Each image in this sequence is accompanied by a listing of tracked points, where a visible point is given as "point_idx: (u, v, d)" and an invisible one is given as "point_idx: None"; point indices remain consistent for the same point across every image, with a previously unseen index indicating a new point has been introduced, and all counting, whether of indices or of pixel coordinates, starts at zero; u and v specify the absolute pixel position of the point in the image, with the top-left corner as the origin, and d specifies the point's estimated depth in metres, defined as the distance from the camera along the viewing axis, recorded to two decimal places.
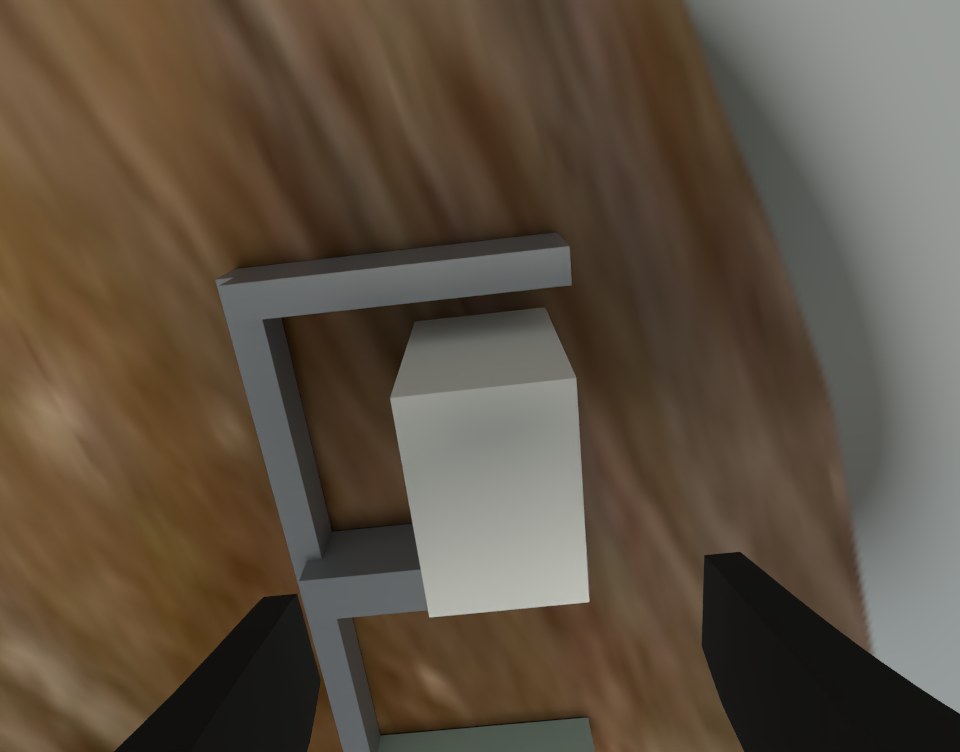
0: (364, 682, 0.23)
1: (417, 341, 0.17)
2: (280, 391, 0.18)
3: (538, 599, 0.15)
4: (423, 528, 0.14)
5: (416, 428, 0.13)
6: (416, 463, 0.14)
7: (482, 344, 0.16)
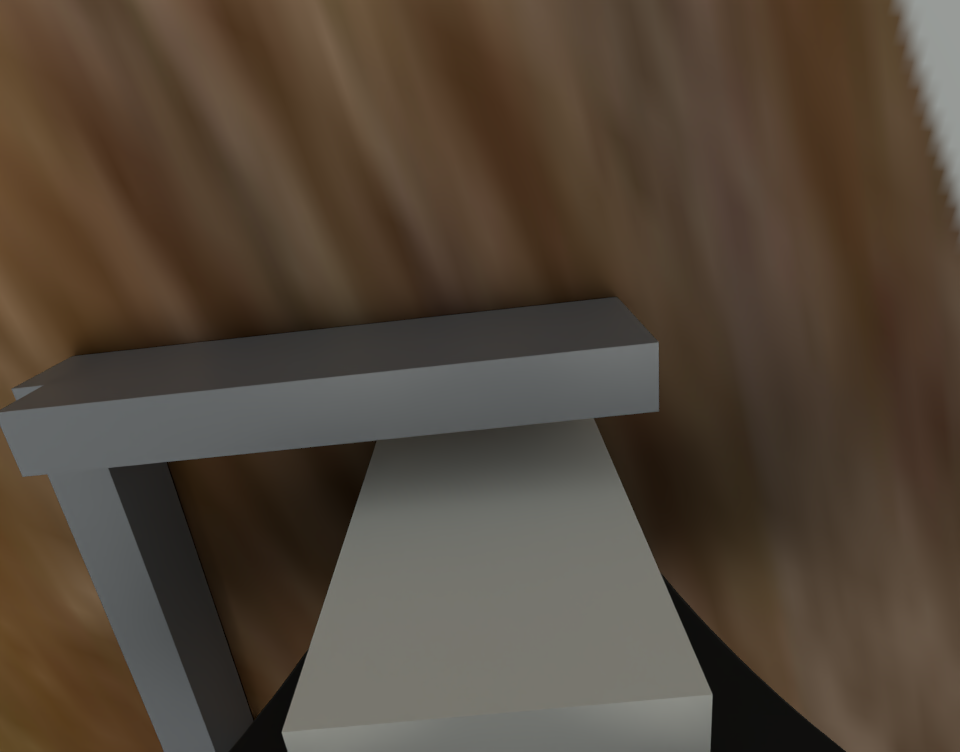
0: None
1: (373, 500, 0.09)
2: (145, 565, 0.10)
3: None
4: None
5: None
6: None
7: (490, 521, 0.08)
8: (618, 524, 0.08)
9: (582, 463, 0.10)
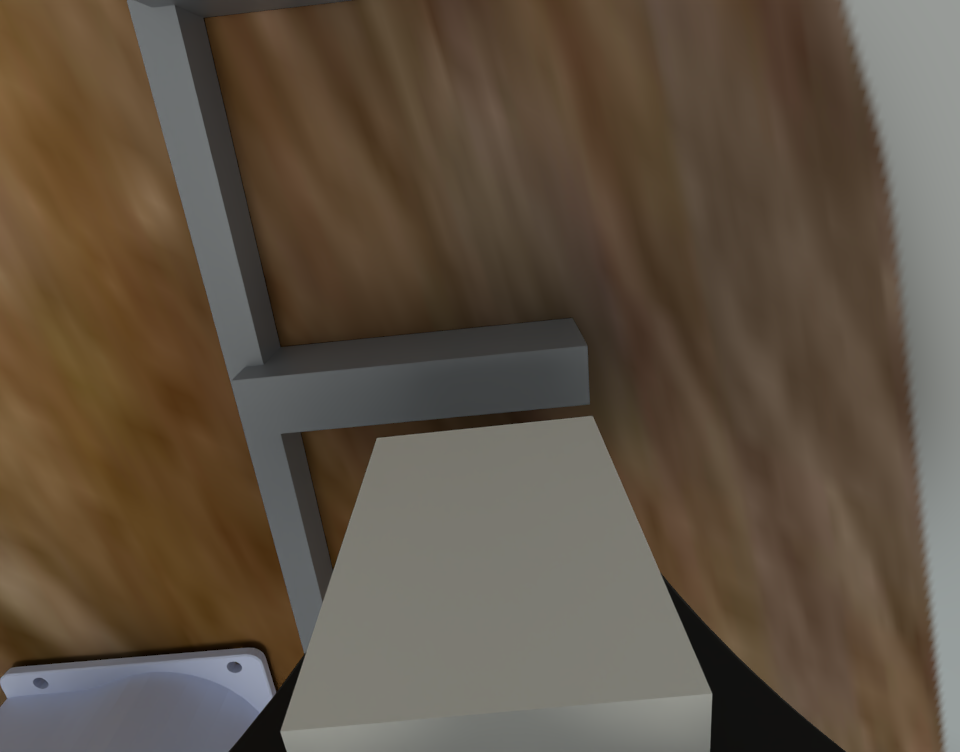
0: (322, 544, 0.20)
1: (373, 500, 0.09)
2: (204, 125, 0.14)
3: None
4: None
5: None
6: None
7: (490, 520, 0.08)
8: (618, 523, 0.08)
9: (582, 462, 0.10)
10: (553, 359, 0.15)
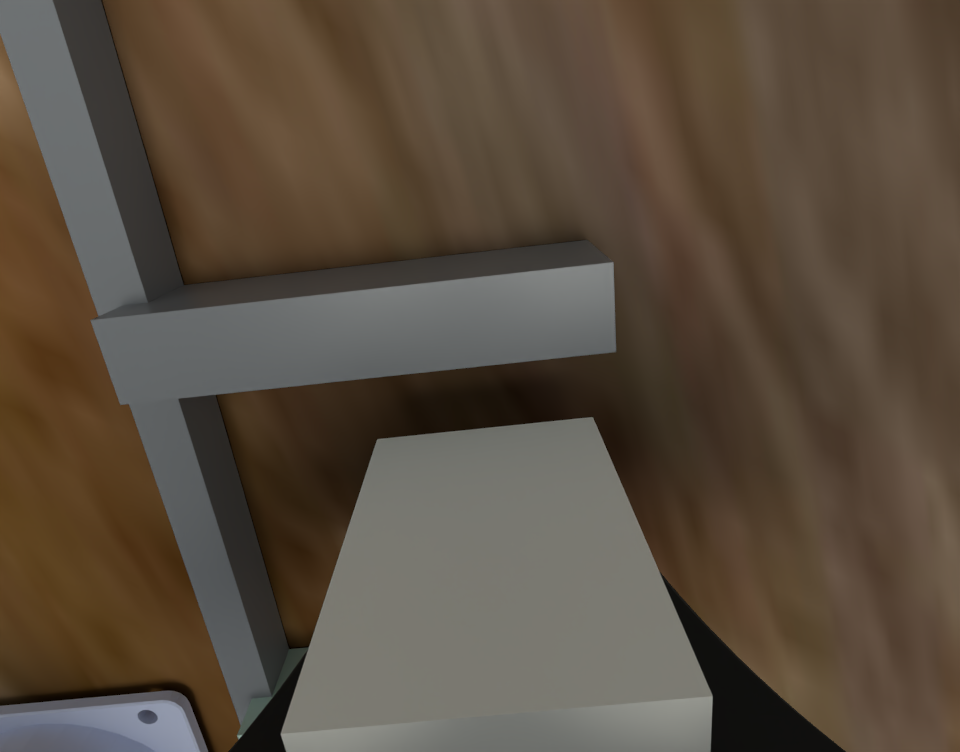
0: (254, 556, 0.15)
1: (373, 501, 0.09)
2: None
3: None
4: None
5: None
6: None
7: (490, 522, 0.08)
8: (618, 525, 0.08)
9: (582, 464, 0.10)
10: (563, 284, 0.10)
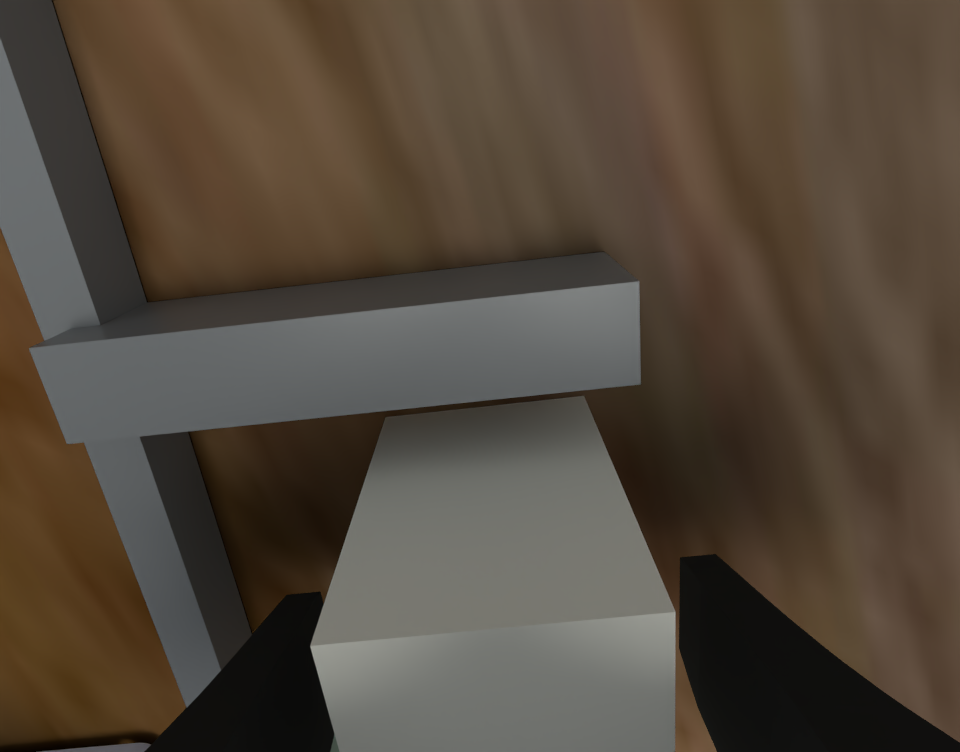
0: (232, 601, 0.13)
1: (383, 467, 0.10)
2: None
3: None
4: None
5: (362, 694, 0.07)
6: (365, 748, 0.07)
7: (489, 482, 0.09)
8: (602, 483, 0.09)
9: (572, 434, 0.11)
10: (580, 306, 0.09)
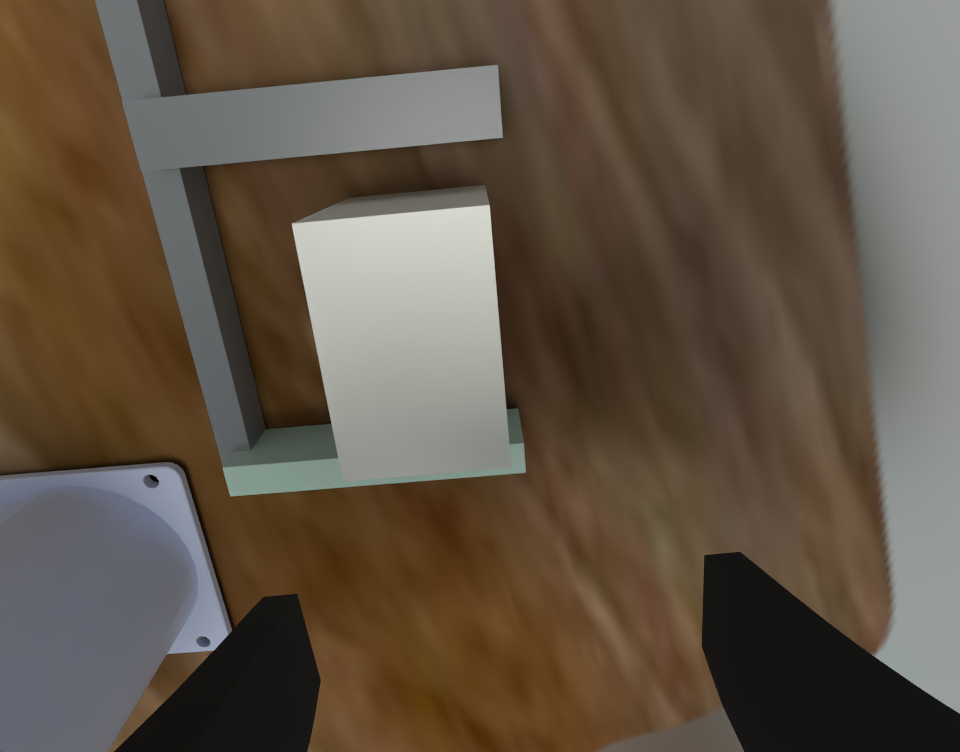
0: (239, 338, 0.19)
1: (343, 203, 0.16)
2: None
3: (457, 463, 0.14)
4: (333, 377, 0.13)
5: (320, 260, 0.12)
6: (322, 301, 0.13)
7: (407, 200, 0.15)
8: (476, 195, 0.15)
9: (468, 190, 0.16)
10: (462, 81, 0.14)
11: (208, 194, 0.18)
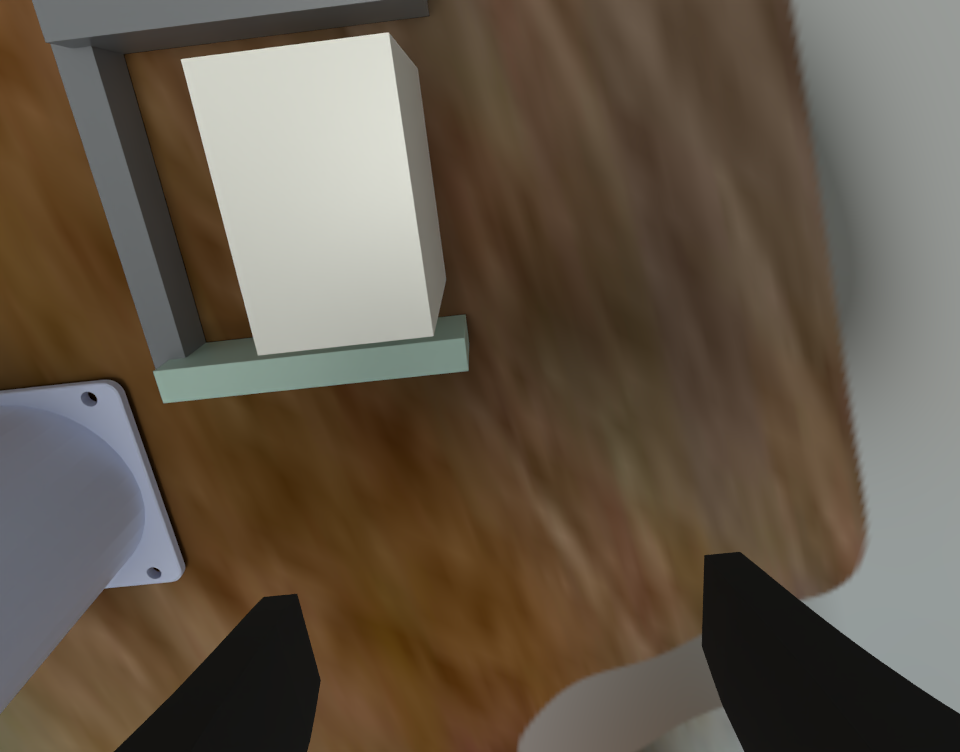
0: (171, 241, 0.18)
1: None
2: None
3: (376, 333, 0.13)
4: (238, 236, 0.13)
5: (214, 101, 0.12)
6: (220, 148, 0.12)
7: None
8: None
9: None
10: None
11: (130, 85, 0.17)
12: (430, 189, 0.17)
